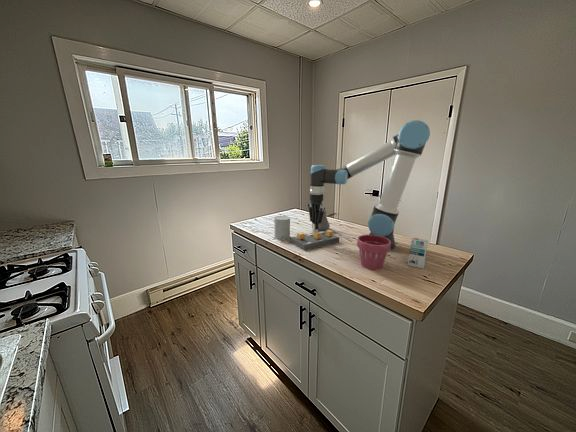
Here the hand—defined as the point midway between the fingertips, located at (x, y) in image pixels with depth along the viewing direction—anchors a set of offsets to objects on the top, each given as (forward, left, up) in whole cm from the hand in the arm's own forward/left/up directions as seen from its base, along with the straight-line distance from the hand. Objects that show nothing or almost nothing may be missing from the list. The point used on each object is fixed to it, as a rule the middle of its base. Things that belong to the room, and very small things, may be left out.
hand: (315, 234), depth 136 cm
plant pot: (-37, -4, -5) cm, 38 cm away
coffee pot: (+12, -18, -5) cm, 22 cm away
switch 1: (+2, +9, -1) cm, 9 cm away
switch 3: (-3, -8, -2) cm, 9 cm away
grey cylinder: (+17, +12, -5) cm, 21 cm away
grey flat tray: (0, 0, -5) cm, 5 cm away
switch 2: (-2, 0, -1) cm, 3 cm away
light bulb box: (-46, -25, -5) cm, 53 cm away
